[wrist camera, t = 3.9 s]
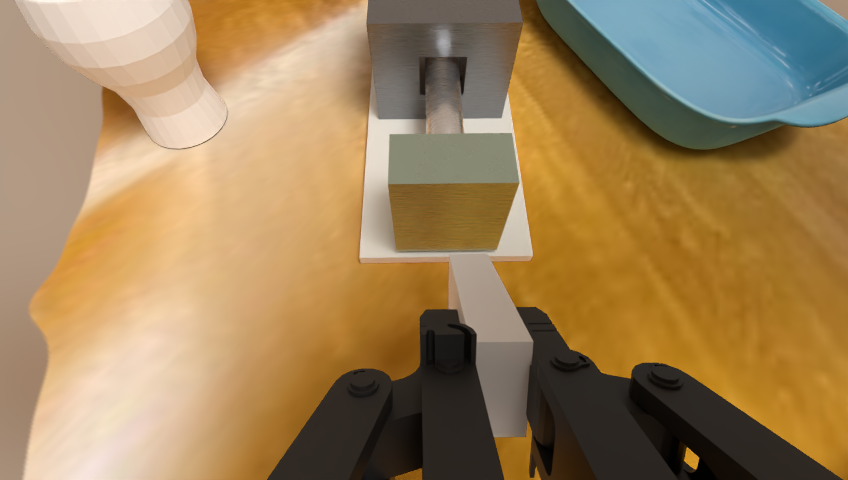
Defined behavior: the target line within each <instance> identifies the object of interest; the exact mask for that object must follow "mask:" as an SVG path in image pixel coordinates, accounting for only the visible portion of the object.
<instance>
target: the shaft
mask: <svg viewBox="0 0 848 480" xmlns="http://www.w3.org/2000/svg"><path fill="white" fill-rule="evenodd" d="M425 94H426V134H389V164H388V190H389V197H390V205H391V213H392V221H393V229H394V236H395V244H396V251H460V250H497V247H498V244H499V242H500V239H501V236H502V233H503V230H504V227H505V224H506V221H507V218H508V215H509V212H510V209H511V206H512V203H513V200H514V198H515V195H516V192H517V189H518V186H519V183H520V182H519V176H518V169H517V163H516V156H515V149H514V143H513V136H512V133H464V124H463V112H462V99H461V87H460V74H459V61H458V57H425Z"/></svg>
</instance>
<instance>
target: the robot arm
mask: <svg viewBox="0 0 848 480" xmlns="http://www.w3.org/2000/svg"><path fill="white" fill-rule="evenodd" d="M527 418H528V421H529V424H530V427H531V429H532V442H531V454H530V466H529V474H530V478H534V475H535V468H536V466H537V469H538V472H539V475H540V478H541V480H843V479H841V478H840V477H838V476H837V475H835V474H834V473H832V472H831V471H829V470H828V469H826V468H825V467H823V466H822V465H821V464H819V463H818V462H816V461H815V460H813V459H812V458H810V457H809V456H807V455H806V454H804V453H803V452H801V451H800V450H798V449H797V448H796V447H794V446H793V445H791V444H790V443H788V442H787V441H785V440H784V439H782V438H781V437H779V436H778V435H776V434H775V433H773V432H772V431H771V430H769V429H768V428H766V427H765V426H763V425H762V424H760V423H759V422H757V421H756V420H754V419H753V418H751V417H750V416H748V415H747V414H746V413H744V412H743V411H741V410H740V409H738V408H737V407H735V406H734V405H732V404H731V403H729V402H728V401H726V400H725V399H723V398H722V397H721V396H719V395H718V394H716V393H715V392H713V391H712V390H710V389H709V388H707V387H706V386H704V385H703V384H701V383H700V382H698V381H697V380H696V379H694V378H693V377H691V376H690V375H688V374H686V373H684V372H683V371H681V370H679V369H677V368H674V367H671V366H669V365H666V364H662V363H660V364H659V363H641V364H639V365H636V366H635V367H634V368H633V370H632V374H631V379H629V378H624V377H618V376H612V375H607V374H603V373H601V372H600V371H599V369H598V368H597V366H596V365H595V364H594V362H593V361H591V360H590V359H589V358H588V357H587V356H585V355H583V354H581V353H579V352H576V351H572V350H570V349H569V347H568V346H567V344H566V343H565V341H564V340H563V338H562V337H561V335H560V334H559V332H558V331H557V329H556V328H555V326H554V325H553V324H552V322H551V320H550V319H549V317H548V316H547V314H545V313H544V312H542V311H541V310H539V309H538V308H536V307H515V305H514V304H513V302H512V300H511V298H510V296H509V294H508V292H507V290H506V288H505V286H504V284H503V283H502V281H501V279H500V277H499V275H498V273H497V271H496V269H495V267H494V265H493V263H492V262H491V260H490V258H489V256H488V254H449V297H448V309H439V310H426V311H425V312H424V313H423V314H422V315H421V317H420V366H419V368H418V369H417V370H416V371H415V372H414V373H413V374H411V375H409V376H408V377H406V378H403V379H399V380H396V381H391V379H390V377H389V376H388V375H387V374H385V373H384V372H382V371H379V370H375V369H358V370H353V371H350V372H348V373H346V374H344V375H342V376H341V377H340V378H339V379H338V380H337V381H336V382H335V383H334V384H333V386H332V387H331V389H330V390H329V391H328V393H327V394H326V396H325V397H324V399H323V400H322V402H321V403H320V404H319V406H318V407H317V409H316V410H315V412H314V413H313V414H312V416H311V417H310V419H309V420H308V422H307V423H306V424H305V426H304V427H303V429H302V430H301V432H300V433H299V434H298V436H297V437H296V439H295V440H294V442H293V443H292V444H291V446H290V447H289V449H288V450H287V452H286V453H285V454H284V456H283V457H282V459H281V460H280V462H279V463H278V465H277V466H276V467H275V469H274V470H273V472H272V473H271V475H270V476H269V477H268V479H267V480H395V476H398V475H401V474H404V473H407V472H410V471H414V470H417V469H420V468H422V480H504V477H503V473H502V469H501V465H500V461H499V457H498V453H497V448H496V444H495V440H494V437H526V430H527ZM687 447H688V448H689V449H690V450H691V451H693V452H694V453H695V454H696V455H697V456H698V457H699V463H698V467H697V469H696V470H695V469H693V468H692V467H690V466H689V465H688V464H687V463H686V462H685V461H684V457H685V453H686V448H687Z"/></svg>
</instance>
